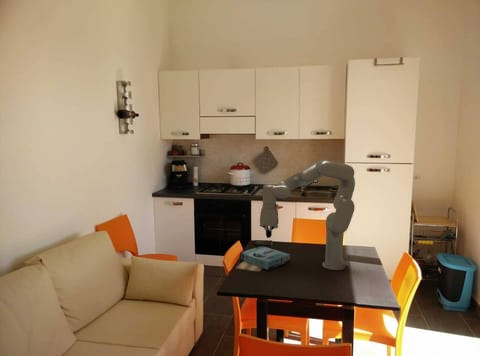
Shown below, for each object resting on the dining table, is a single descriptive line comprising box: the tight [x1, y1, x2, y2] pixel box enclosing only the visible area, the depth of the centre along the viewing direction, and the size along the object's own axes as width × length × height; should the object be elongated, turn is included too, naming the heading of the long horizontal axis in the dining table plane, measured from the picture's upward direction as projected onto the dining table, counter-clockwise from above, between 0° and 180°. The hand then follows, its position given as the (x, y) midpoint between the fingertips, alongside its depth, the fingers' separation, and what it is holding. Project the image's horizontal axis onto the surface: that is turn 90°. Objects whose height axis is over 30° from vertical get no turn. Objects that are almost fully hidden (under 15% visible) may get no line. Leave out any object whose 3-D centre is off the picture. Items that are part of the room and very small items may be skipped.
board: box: [235, 261, 264, 273], centre depth 218 cm, size 14×22×1 cm, turn 158°
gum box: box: [239, 245, 291, 271], centre depth 221 cm, size 20×5×23 cm
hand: (268, 237), depth 212 cm, fingers closed
